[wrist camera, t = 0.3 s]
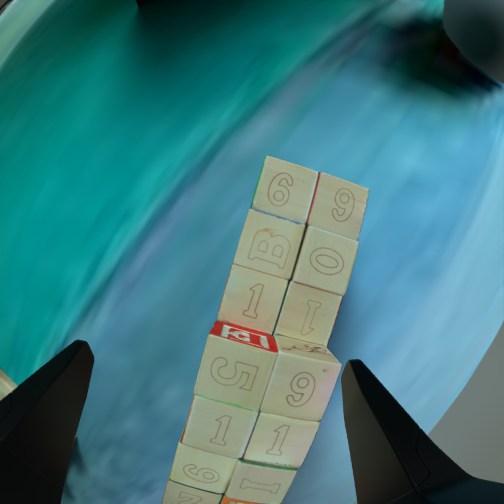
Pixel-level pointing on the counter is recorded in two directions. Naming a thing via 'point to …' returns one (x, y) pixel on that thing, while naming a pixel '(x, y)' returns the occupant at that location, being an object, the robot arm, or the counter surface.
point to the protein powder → (141, 2)
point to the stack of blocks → (271, 341)
